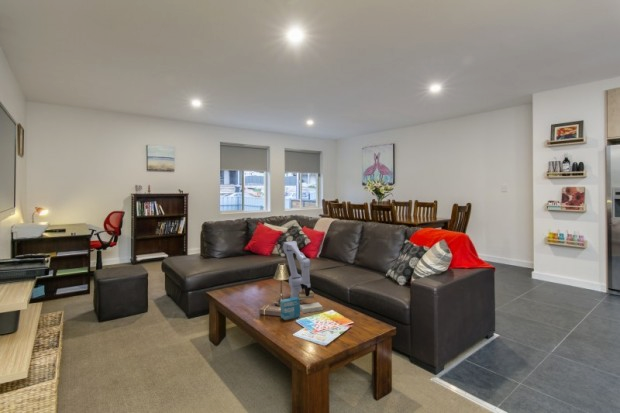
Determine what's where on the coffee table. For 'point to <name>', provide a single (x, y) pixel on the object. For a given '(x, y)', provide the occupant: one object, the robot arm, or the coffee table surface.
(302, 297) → the wooden box
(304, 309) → the dock
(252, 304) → the coffee table surface
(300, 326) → the coffee table surface
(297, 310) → the data package
